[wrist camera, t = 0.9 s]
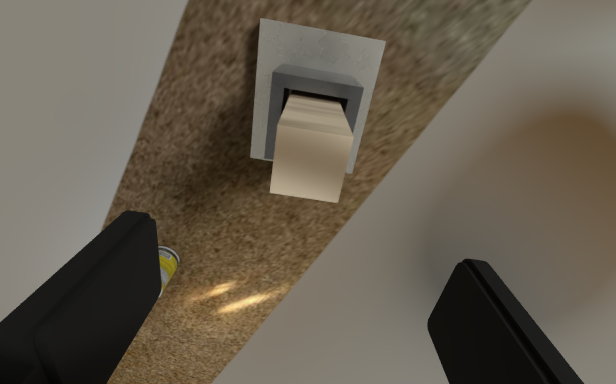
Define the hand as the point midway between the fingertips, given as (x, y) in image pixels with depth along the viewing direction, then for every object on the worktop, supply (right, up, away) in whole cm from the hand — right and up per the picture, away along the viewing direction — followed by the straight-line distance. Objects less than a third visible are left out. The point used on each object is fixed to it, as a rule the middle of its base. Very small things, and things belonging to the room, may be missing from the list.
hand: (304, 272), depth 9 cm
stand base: (+1, +13, +23) cm, 26 cm away
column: (+1, +11, +21) cm, 24 cm away
